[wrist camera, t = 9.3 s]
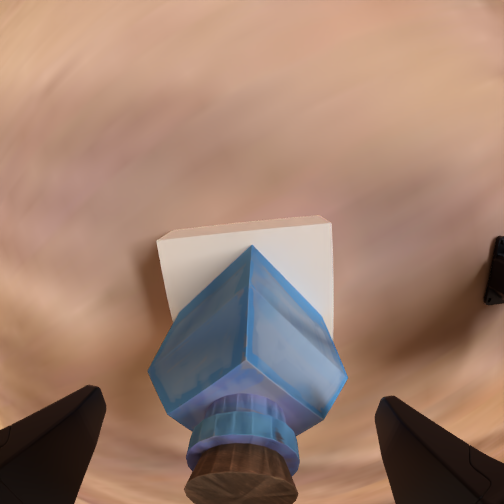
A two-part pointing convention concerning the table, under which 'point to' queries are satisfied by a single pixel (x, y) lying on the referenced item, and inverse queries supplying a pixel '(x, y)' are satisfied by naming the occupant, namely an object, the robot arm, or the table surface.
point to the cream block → (266, 242)
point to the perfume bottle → (247, 382)
